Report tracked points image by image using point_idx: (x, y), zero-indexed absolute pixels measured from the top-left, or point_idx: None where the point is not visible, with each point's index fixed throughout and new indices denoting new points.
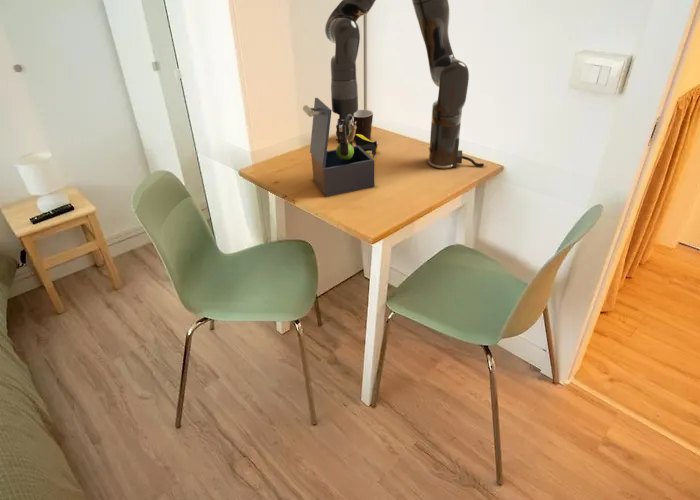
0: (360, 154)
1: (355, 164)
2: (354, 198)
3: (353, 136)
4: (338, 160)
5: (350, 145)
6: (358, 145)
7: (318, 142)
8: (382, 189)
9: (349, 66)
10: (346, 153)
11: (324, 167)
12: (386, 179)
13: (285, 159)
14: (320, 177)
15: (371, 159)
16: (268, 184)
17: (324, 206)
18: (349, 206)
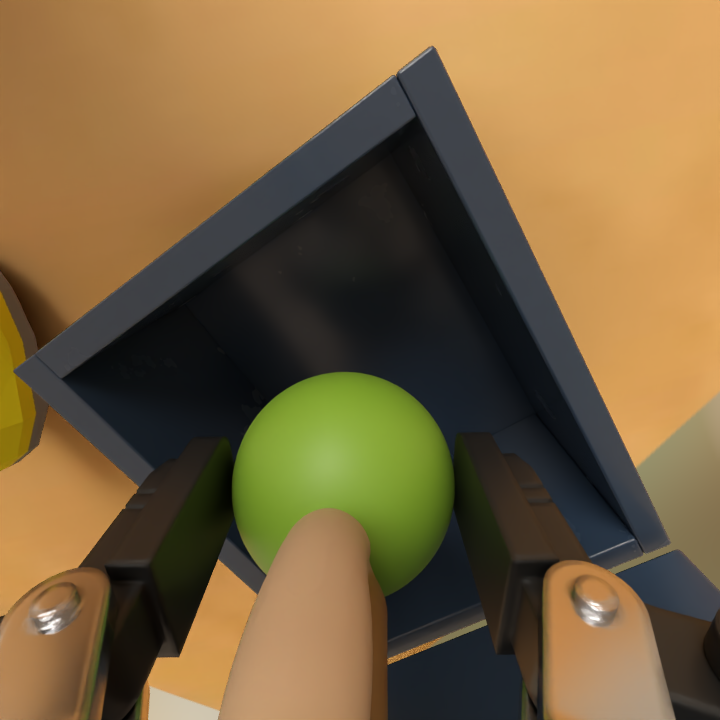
0: (166, 307)
1: (551, 295)
2: (573, 239)
3: (354, 572)
4: None
5: (347, 474)
6: (15, 371)
7: None
8: (428, 41)
9: None
10: (505, 458)
11: (685, 557)
12: (243, 36)
13: (161, 658)
14: None
15: (413, 100)
16: (424, 649)
17: (660, 389)
18: (681, 248)
